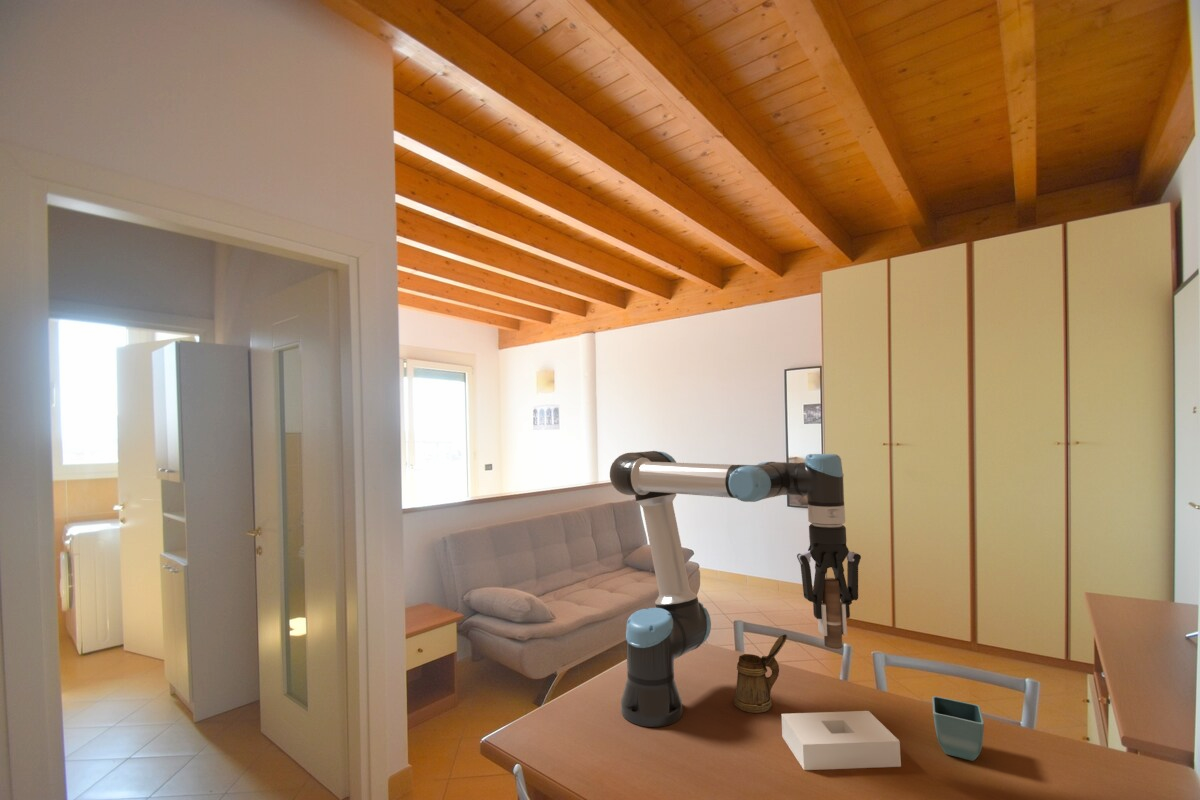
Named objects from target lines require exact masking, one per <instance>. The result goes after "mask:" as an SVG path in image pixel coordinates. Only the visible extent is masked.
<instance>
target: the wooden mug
mask: <svg viewBox="0 0 1200 800" xmlns="http://www.w3.org/2000/svg"><path fill="white" fill-rule="evenodd" d="M787 639H788V635H787V634H782V635H781V636H779V637H778V638H777V639H776V640H775V642H774V644H773V645H772V647H771V648H770V651H769V653H768V655H762V656H759V655H756V654H751V653H750V654H749V653H747V654H746V653H744V654H742V655H739V656H738V662H737V664H736V670H737V677H736V678H737V679H736V689H735V690H736V691H735V694H734V700H733V702H734V705H735V706H736V708H738V709H739V710H741V711H744V712H746V713H752V714H753V713H754V714H759V713H765V712H768V711H769V710H770V709H771V708H772V705H773V702H772V697H771V693H772V692H771V691H772V688H773V686H774V684H775V683H776V682H777V679H778V677H779V673H780V667H779V663H778V661H777V660H776V658H775V657H776V656H777V654H779V652H780V651H781V649H782V648H783V647H784V645H785V643H786V641H787ZM768 667H769V669H770V670H771V674H770V676H766V673H767V672H768Z"/></svg>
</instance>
